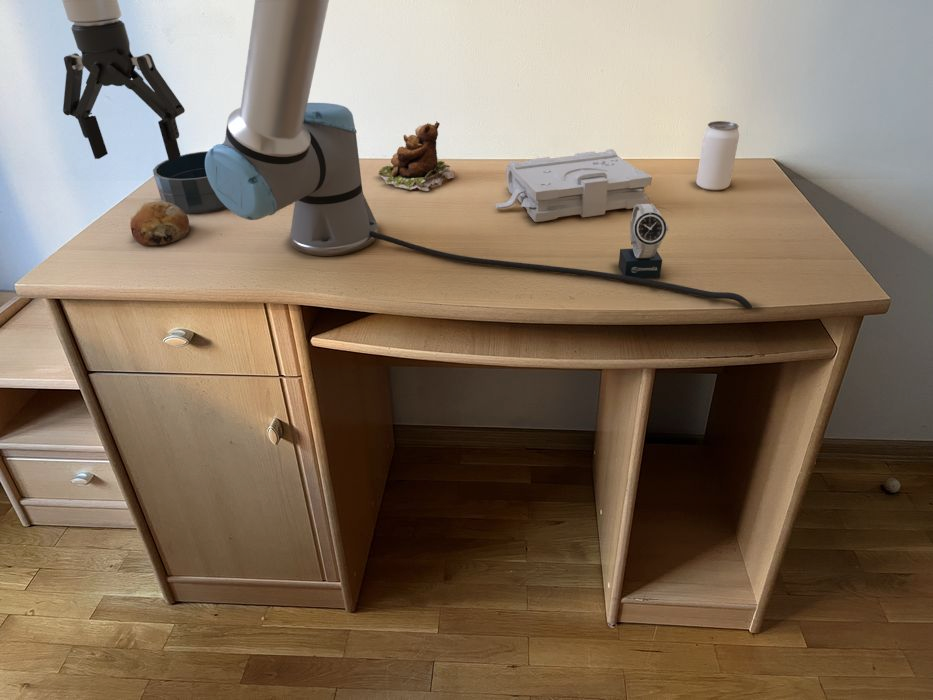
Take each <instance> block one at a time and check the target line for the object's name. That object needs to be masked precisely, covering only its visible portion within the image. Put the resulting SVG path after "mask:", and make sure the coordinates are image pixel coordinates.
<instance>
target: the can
mask: <svg viewBox="0 0 933 700" xmlns="http://www.w3.org/2000/svg"><path fill="white" fill-rule="evenodd" d="M739 138H740V132H739V124H738V123H735V122H731V121H725V120H716V121H710V122H709V123H707V128H706V129H705V130H704V133H703V138H702V144H701V149H700V155H699V161H698V166H697V167H698V168H697V173H696V180H695V183H696V185H697V187H698V188H700V189H703V190H705V191H715V192H716V191H723V190H726V189H728V187H730V185H731V180H732V175H733V170H734V164H735V160H736V155H737V149H738V143H739Z"/></svg>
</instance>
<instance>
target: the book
mask: <svg viewBox="0 0 933 700" xmlns="http://www.w3.org/2000/svg"><path fill="white" fill-rule="evenodd" d="M505 175H506V184H507V189H508V193H510V194H511V196H510V198H509V199H508V200H507V201H504V202H499V203H498V202H497V203H494V207H495V208H496V209H497V210H501V209H508V208H510V207H512V206H513V205H515V203H516V202H517V200H518V201H519V203H520V204H521V205H520V208H525V209H526V213H527V214H528V216H529V217H530V218H531V219H532V221H534V222H535V223H539V222H546V221H552V220H556V219H557V220H558V218H561V217H562V218H563V217H569V216H577V215H579V216H581V218H589V217H595V216H602V215H606V211H611V210H619V209H626V210H629V209H634V207H635V205H637V204H650V203H649V202H650V197H649V196H648V195H646V193H644V192H645V188H646V187H650V186H651V185H652V179H653V178H652V176H651V175H650V174H649V173H648V172H646V171H644V170H642V169H640V168H639V169H638V168H636V167H635V166H634V165H632V164H631V163H629V162H627V161H626V160H625V159H623V158H622V157H620V156H618V153H617V151H615V149H614V148H609V149H606V150H605V151H601V152H596V151H587V152H579V153H575V154H574V155H566V156H558V157H550V156H545V157H538V158H528V159H527V160H525V161H518V162H517V160H511V161H509V162H508V164H507V167H506V174H505Z"/></svg>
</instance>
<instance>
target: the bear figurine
mask: <svg viewBox="0 0 933 700" xmlns="http://www.w3.org/2000/svg"><path fill="white" fill-rule="evenodd" d="M439 126H440V122H438V121H437V120H436V122H435V123H434V124H432V123H429V122H427V123H425V124H422V125H418V127H416V128H415V130H414V132H415V134H410V135H408V136H407V134H403V141H404V143H405V146H399V147H398V148H397V149H396V153H394V154H393V155H392V158H391V159H390V163H391V164H392V166H391V165H385V166H383V167H381V168H380V170H379V171H378V174H377V175H379V177H381V178H382V179H383V180H384V181H385V184H386V185H389V186H390V187H391V186H393V187H396V188H400V189H405V190H409V191H412V190H415V189H416V188H418V189H419V191H423V192H429V191H430V189H434V188H437V187H439V186H442V184H443V181H444V180H445V179H446V180H449V179H455V174H454V171H451V169H450V167H451V166H450V165H449V164H446V163H445V162H446V161H442V160H440V161H439V160H438V152H437V139H438V136H439V131H438V129H439ZM429 187H430V189H429Z"/></svg>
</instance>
